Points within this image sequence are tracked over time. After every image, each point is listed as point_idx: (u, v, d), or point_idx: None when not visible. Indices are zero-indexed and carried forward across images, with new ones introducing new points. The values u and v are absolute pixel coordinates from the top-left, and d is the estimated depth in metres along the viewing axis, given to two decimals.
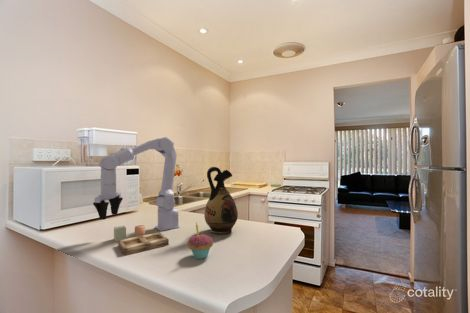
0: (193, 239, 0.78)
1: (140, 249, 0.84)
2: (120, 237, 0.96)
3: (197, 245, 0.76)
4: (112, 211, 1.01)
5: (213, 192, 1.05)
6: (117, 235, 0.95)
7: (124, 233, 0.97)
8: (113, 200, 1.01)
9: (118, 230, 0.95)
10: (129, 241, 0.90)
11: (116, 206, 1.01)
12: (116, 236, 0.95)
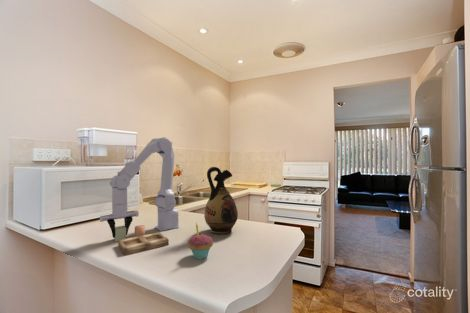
0: (193, 239, 0.78)
1: (140, 249, 0.84)
2: (120, 236, 0.96)
3: (197, 245, 0.76)
4: None
5: (213, 192, 1.05)
6: (117, 235, 0.95)
7: (124, 233, 0.97)
8: (125, 220, 0.99)
9: (118, 230, 0.95)
10: (129, 241, 0.90)
11: (126, 227, 0.98)
12: (116, 236, 0.95)
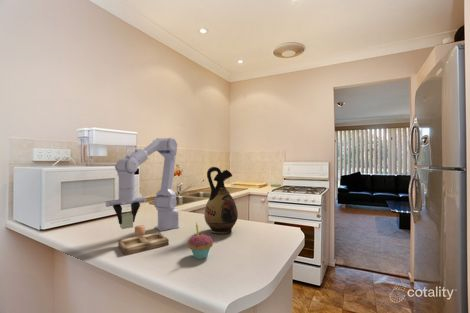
0: (193, 239, 0.78)
1: (140, 249, 0.84)
2: (127, 224, 0.90)
3: (197, 245, 0.76)
4: None
5: (213, 192, 1.05)
6: (124, 222, 0.90)
7: (131, 220, 0.91)
8: (132, 206, 0.93)
9: (125, 217, 0.90)
10: (129, 241, 0.90)
11: (133, 213, 0.92)
12: (123, 223, 0.89)
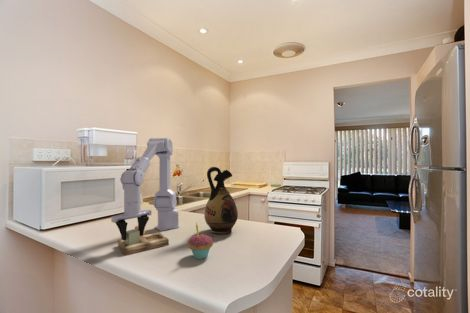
0: (193, 239, 0.78)
1: (140, 249, 0.84)
2: (134, 241, 0.87)
3: (197, 245, 0.76)
4: None
5: (213, 192, 1.05)
6: (131, 240, 0.86)
7: (138, 237, 0.88)
8: (139, 219, 0.90)
9: (132, 234, 0.86)
10: None
11: (141, 226, 0.89)
12: (130, 241, 0.85)
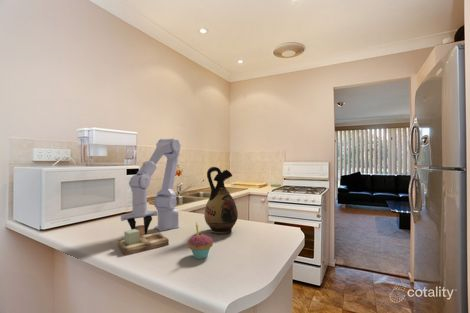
0: (193, 239, 0.78)
1: (140, 249, 0.84)
2: (134, 241, 0.87)
3: (197, 245, 0.76)
4: None
5: (213, 192, 1.05)
6: (131, 240, 0.86)
7: (138, 237, 0.88)
8: (144, 219, 1.00)
9: (132, 234, 0.86)
10: None
11: (145, 226, 0.99)
12: (130, 241, 0.85)
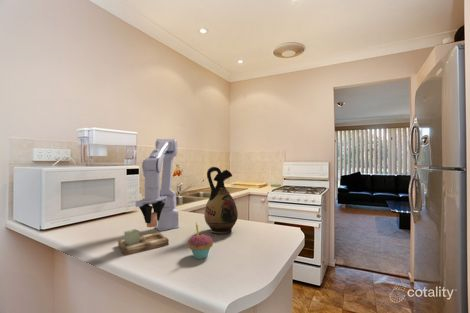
0: (193, 239, 0.78)
1: (140, 249, 0.84)
2: (134, 241, 0.87)
3: (197, 245, 0.76)
4: None
5: (213, 192, 1.05)
6: (131, 240, 0.86)
7: (138, 237, 0.88)
8: (155, 205, 0.95)
9: (132, 234, 0.86)
10: None
11: (158, 211, 0.94)
12: (130, 241, 0.85)
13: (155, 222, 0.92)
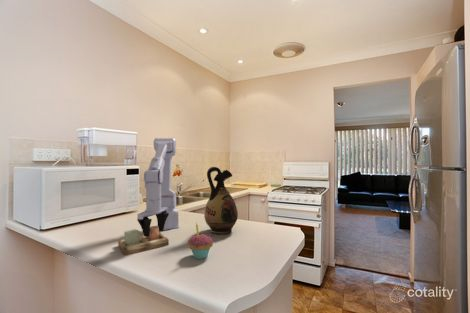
0: (193, 239, 0.78)
1: (140, 249, 0.84)
2: (134, 241, 0.87)
3: (197, 245, 0.76)
4: None
5: (213, 192, 1.05)
6: (131, 240, 0.86)
7: (138, 237, 0.88)
8: (159, 215, 0.96)
9: (132, 234, 0.86)
10: None
11: (162, 222, 0.95)
12: (130, 241, 0.85)
13: (157, 236, 0.92)
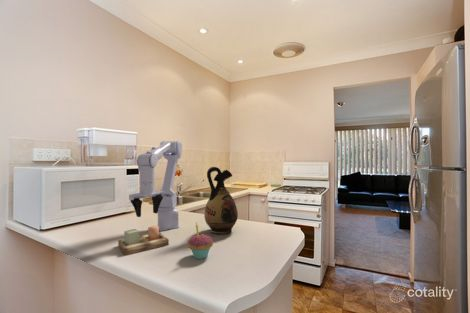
0: (193, 239, 0.78)
1: (140, 249, 0.84)
2: (134, 241, 0.87)
3: (197, 245, 0.76)
4: (153, 209, 1.00)
5: (213, 192, 1.05)
6: (131, 240, 0.86)
7: (138, 237, 0.88)
8: (154, 198, 1.00)
9: (132, 234, 0.86)
10: None
11: (156, 205, 0.99)
12: (130, 241, 0.85)
13: (157, 236, 0.92)
